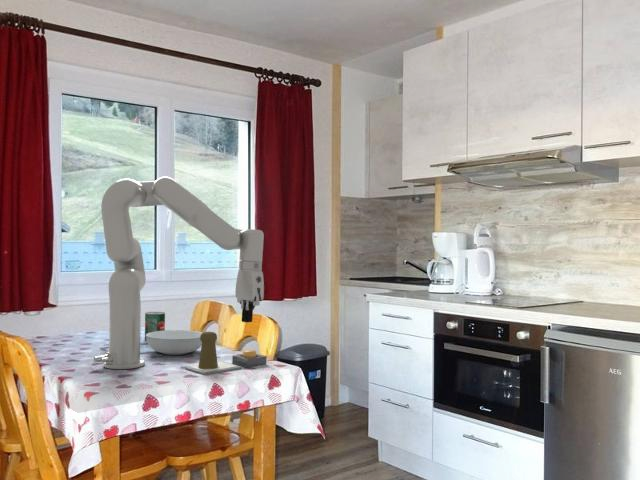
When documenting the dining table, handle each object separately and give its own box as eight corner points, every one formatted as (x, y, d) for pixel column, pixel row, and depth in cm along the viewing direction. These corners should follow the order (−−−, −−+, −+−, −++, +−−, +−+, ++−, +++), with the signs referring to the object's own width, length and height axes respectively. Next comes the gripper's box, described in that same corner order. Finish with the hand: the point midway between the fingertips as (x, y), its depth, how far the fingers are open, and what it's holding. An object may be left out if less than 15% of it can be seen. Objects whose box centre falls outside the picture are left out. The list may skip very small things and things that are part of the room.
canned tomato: (143, 338, 242) (143, 312, 242) (162, 337, 245) (163, 311, 245) (146, 341, 235) (146, 314, 235) (166, 340, 238) (166, 313, 238)
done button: (248, 362, 192) (248, 353, 192) (240, 360, 195) (240, 351, 195) (258, 361, 195) (258, 351, 195) (250, 359, 198) (250, 349, 198)
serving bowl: (190, 360, 201) (191, 339, 201) (134, 356, 205) (135, 336, 205) (213, 349, 221) (214, 331, 221) (162, 346, 225) (162, 328, 225)
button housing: (247, 367, 189) (247, 359, 189) (232, 363, 195) (232, 355, 195) (266, 364, 195) (266, 356, 195) (251, 360, 201) (251, 352, 201)
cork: (220, 365, 188) (220, 330, 188) (214, 369, 182) (215, 333, 182) (201, 364, 189) (202, 330, 189) (195, 368, 183) (196, 333, 183)
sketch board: (204, 375, 178) (204, 372, 178) (185, 369, 186) (185, 366, 186) (242, 368, 188) (242, 365, 188) (222, 363, 196) (222, 360, 196)
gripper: (273, 268, 192) (269, 324, 192) (245, 265, 203) (242, 318, 203) (255, 268, 187) (251, 325, 187) (227, 264, 198) (224, 319, 198)
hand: (246, 321), depth 195 cm, fingers closed
